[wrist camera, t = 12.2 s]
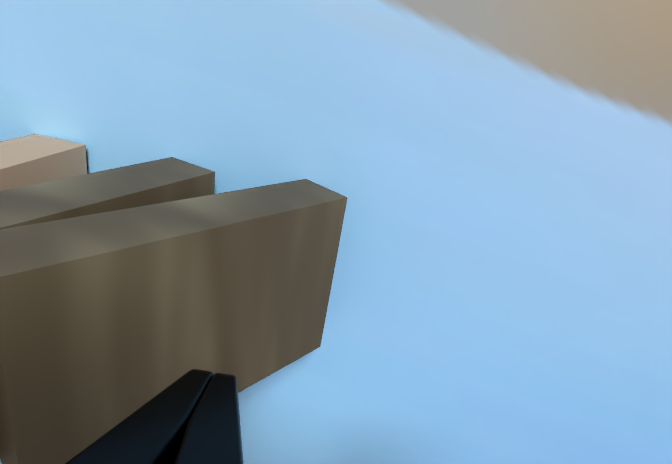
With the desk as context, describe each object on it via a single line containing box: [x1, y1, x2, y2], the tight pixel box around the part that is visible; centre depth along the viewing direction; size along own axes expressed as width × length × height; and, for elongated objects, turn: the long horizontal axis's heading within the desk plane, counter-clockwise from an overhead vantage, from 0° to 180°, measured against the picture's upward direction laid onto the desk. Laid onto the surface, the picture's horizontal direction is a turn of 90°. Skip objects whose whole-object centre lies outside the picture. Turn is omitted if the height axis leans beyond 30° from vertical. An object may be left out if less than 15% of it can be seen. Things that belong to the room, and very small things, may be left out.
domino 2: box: [0, 179, 347, 464], centre depth 11 cm, size 2×5×8 cm
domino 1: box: [0, 157, 215, 230], centre depth 10 cm, size 2×5×8 cm, turn 171°
